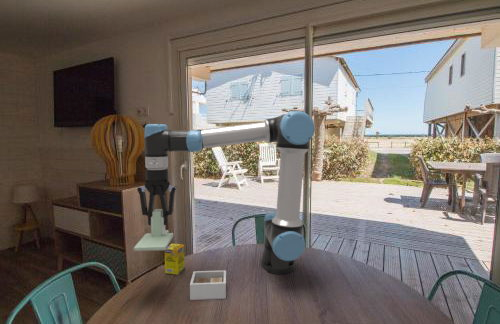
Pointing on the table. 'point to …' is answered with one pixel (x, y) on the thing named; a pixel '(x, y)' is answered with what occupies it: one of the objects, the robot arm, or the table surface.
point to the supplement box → (174, 259)
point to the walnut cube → (201, 280)
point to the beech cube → (216, 280)
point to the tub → (208, 285)
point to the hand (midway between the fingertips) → (158, 233)
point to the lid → (155, 236)
